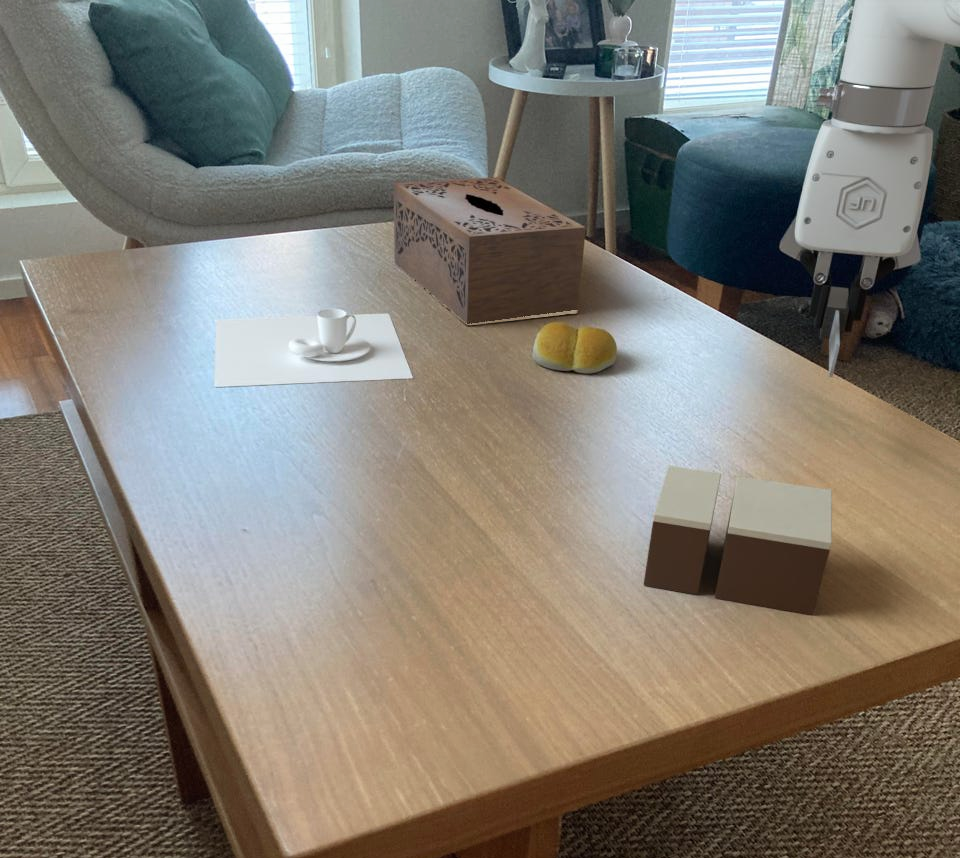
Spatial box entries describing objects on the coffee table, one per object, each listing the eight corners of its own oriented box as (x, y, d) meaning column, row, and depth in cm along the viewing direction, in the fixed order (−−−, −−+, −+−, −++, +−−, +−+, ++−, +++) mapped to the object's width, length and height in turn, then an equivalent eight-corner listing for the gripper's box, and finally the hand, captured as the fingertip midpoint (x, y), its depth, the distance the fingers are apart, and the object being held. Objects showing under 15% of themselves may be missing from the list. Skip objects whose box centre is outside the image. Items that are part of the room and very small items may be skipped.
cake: (813, 559, 79) (832, 489, 76) (812, 615, 73) (832, 542, 70) (723, 544, 81) (737, 475, 77) (714, 598, 74) (728, 526, 71)
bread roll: (614, 378, 108) (618, 341, 105) (529, 371, 108) (531, 334, 106) (617, 350, 114) (621, 314, 112) (536, 344, 115) (539, 308, 113)
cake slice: (708, 541, 81) (721, 473, 77) (697, 595, 75) (711, 523, 71) (657, 533, 82) (668, 465, 78) (643, 585, 76) (654, 514, 72)
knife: (820, 316, 101) (826, 285, 99) (841, 319, 101) (848, 288, 99) (818, 375, 87) (826, 341, 86) (842, 378, 87) (851, 343, 85)
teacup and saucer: (290, 367, 107) (287, 328, 105) (287, 340, 113) (284, 303, 111) (374, 363, 109) (373, 325, 106) (366, 337, 115) (365, 300, 112)
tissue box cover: (394, 263, 138) (393, 183, 132) (493, 254, 143) (496, 177, 137) (466, 326, 119) (469, 236, 113) (578, 314, 124) (585, 227, 118)
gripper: (781, 108, 84) (743, 329, 95) (987, 121, 81) (924, 349, 92) (784, 95, 90) (748, 305, 101) (977, 107, 87) (918, 322, 98)
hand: (832, 324), depth 96 cm, fingers closed on knife, 2 cm apart
